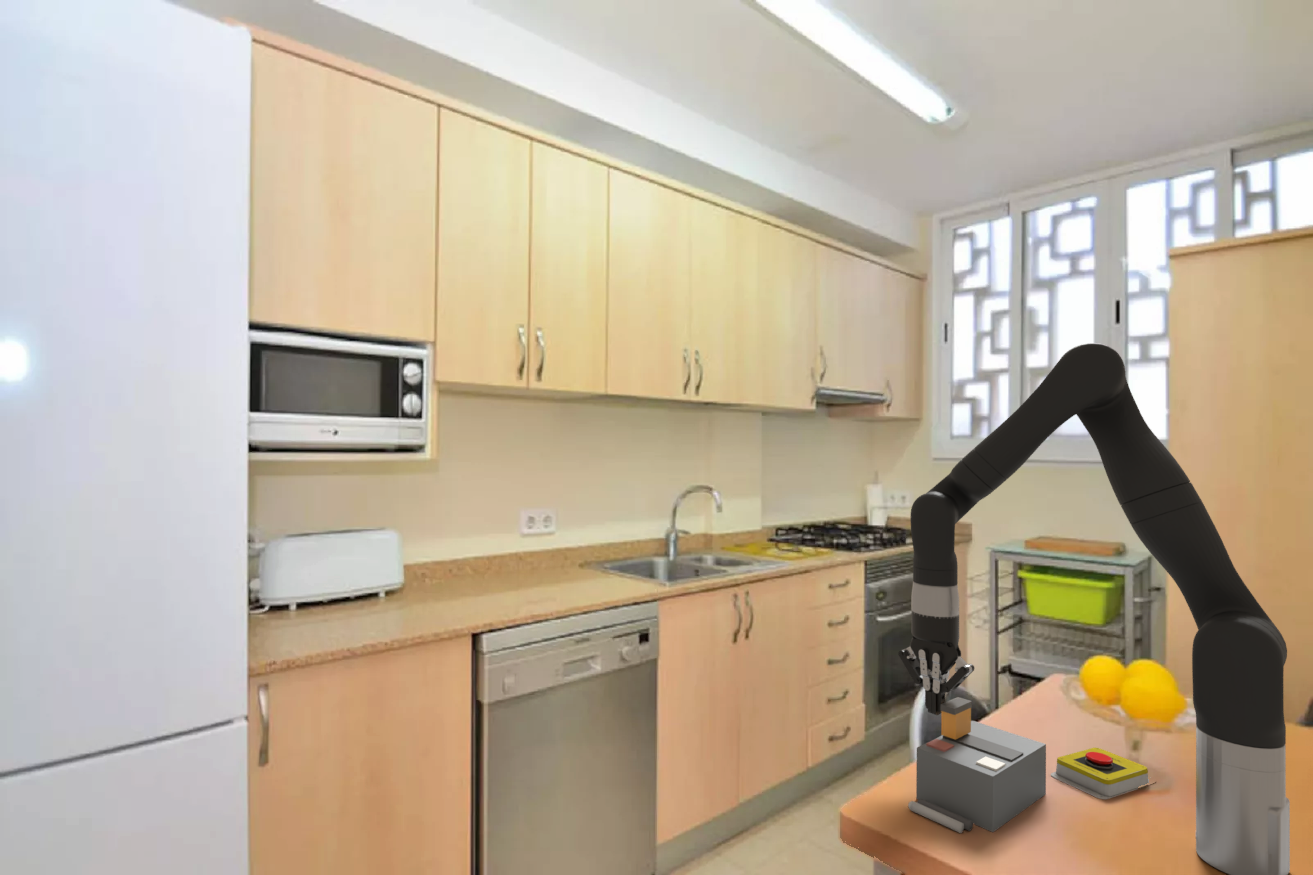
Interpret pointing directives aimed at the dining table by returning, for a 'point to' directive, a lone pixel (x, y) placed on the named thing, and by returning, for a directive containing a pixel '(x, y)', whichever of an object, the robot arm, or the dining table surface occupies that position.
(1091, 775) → the emergency button
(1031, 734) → the dining table surface
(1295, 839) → the dining table surface
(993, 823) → the breaker box
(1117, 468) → the robot arm
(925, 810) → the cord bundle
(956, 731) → the breaker handle
